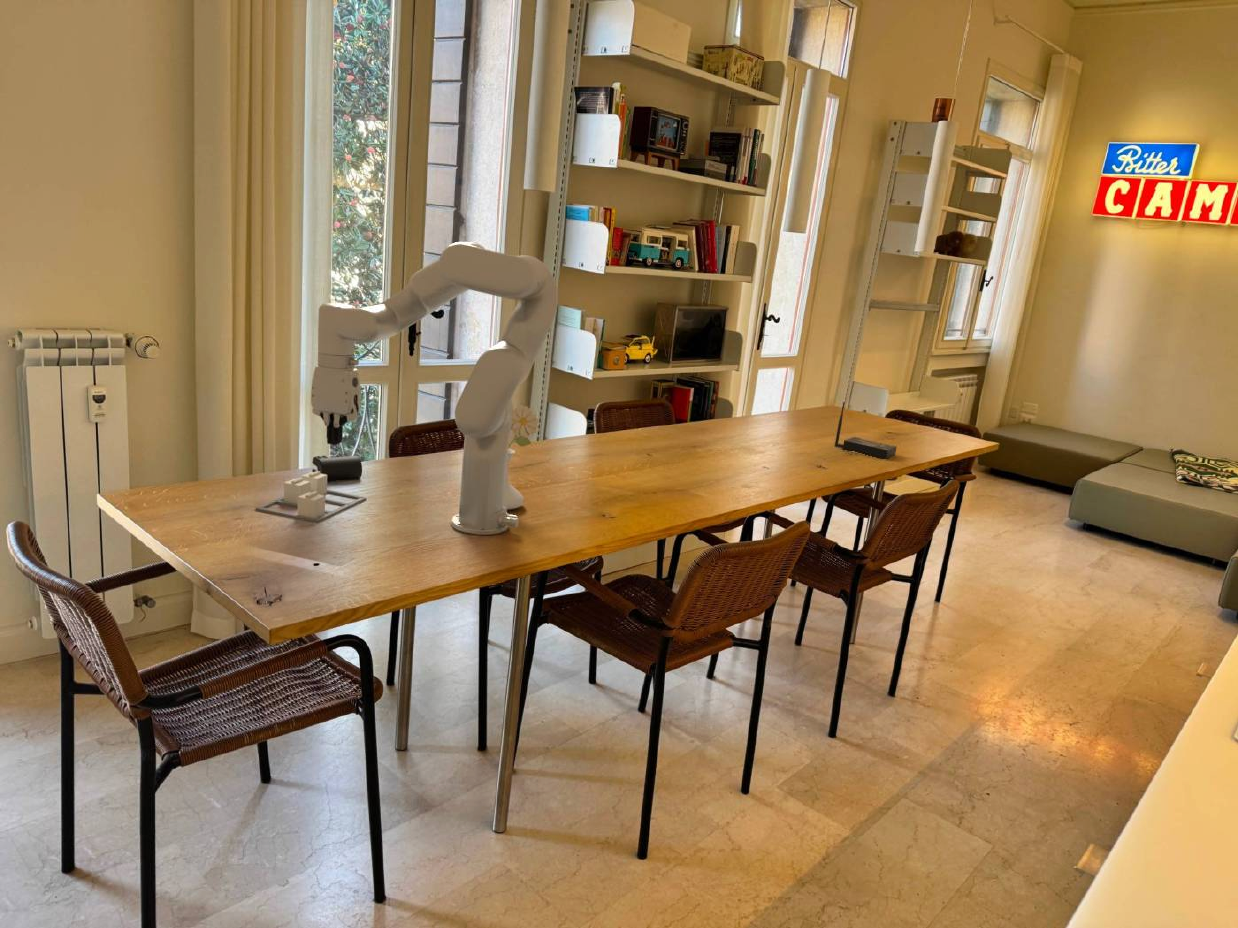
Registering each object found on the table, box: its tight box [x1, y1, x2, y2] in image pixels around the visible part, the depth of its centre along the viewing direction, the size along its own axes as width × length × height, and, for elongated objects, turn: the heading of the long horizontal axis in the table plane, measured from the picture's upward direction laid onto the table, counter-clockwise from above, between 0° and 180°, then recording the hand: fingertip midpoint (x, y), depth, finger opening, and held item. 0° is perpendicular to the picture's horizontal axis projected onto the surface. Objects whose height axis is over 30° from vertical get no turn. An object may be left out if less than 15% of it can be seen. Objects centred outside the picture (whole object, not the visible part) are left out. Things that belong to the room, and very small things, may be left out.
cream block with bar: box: [301, 471, 328, 496], centre depth 198 cm, size 4×4×5 cm
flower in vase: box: [503, 404, 539, 511], centre depth 206 cm, size 13×11×25 cm
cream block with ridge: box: [283, 477, 310, 504], centre depth 192 cm, size 4×4×5 cm
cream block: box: [297, 491, 326, 519], centre depth 184 cm, size 4×4×5 cm
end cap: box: [311, 453, 363, 483], centre depth 211 cm, size 10×7×7 cm
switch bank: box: [254, 489, 367, 524], centre depth 192 cm, size 20×19×2 cm
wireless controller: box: [834, 401, 898, 460], centre depth 313 cm, size 20×14×17 cm
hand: (334, 443), depth 193 cm, fingers closed
